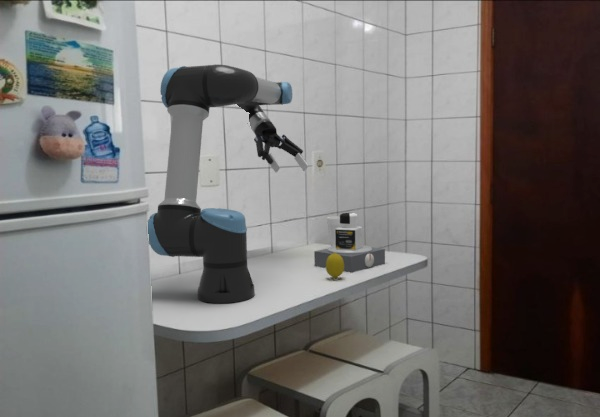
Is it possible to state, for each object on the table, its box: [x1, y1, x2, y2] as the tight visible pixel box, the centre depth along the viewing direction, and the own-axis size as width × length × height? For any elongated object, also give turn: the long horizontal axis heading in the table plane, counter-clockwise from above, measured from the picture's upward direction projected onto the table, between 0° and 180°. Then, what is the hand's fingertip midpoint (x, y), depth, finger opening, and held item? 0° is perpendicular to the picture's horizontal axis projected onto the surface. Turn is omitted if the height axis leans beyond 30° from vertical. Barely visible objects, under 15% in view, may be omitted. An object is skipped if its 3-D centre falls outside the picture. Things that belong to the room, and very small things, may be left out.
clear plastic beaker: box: [326, 215, 341, 247], centre depth 209 cm, size 10×9×13 cm
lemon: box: [325, 253, 345, 280], centre depth 161 cm, size 6×6×8 cm
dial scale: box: [313, 244, 386, 273], centre depth 181 cm, size 18×17×6 cm
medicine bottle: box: [335, 212, 363, 250], centre depth 181 cm, size 7×7×12 cm
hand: (292, 169), depth 186 cm, fingers open, 13 cm apart
